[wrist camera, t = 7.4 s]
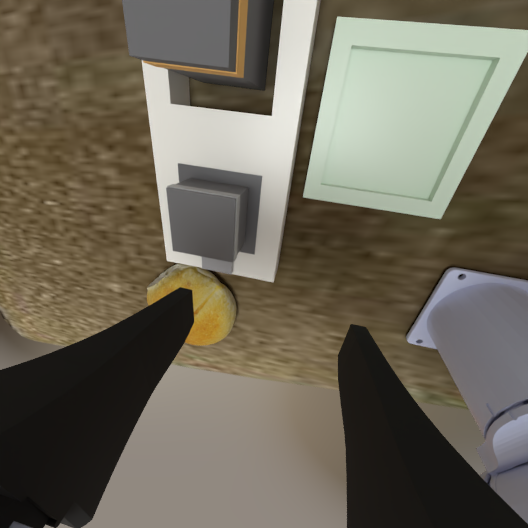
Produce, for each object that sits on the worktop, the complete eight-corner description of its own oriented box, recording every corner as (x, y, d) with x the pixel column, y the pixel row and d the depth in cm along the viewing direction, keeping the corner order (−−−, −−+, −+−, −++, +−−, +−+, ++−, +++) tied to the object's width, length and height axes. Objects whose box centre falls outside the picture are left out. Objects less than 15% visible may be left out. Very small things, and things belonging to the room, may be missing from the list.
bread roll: (203, 337, 28) (187, 367, 25) (146, 283, 25) (120, 308, 22) (256, 313, 24) (247, 343, 21) (197, 246, 22) (174, 269, 18)
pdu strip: (328, -50, 11) (335, -169, 7) (278, 266, 21) (266, 307, 16) (155, -57, 12) (58, -165, 8) (181, 247, 22) (144, 280, 17)
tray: (522, 37, 12) (538, 31, 11) (434, 214, 16) (440, 219, 15) (335, 23, 13) (337, 16, 12) (303, 193, 17) (302, 197, 16)
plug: (274, -4, 13) (236, -117, 7) (265, 91, 15) (229, 69, 9) (201, -10, 13) (104, -122, 7) (202, 83, 15) (128, 57, 9)
